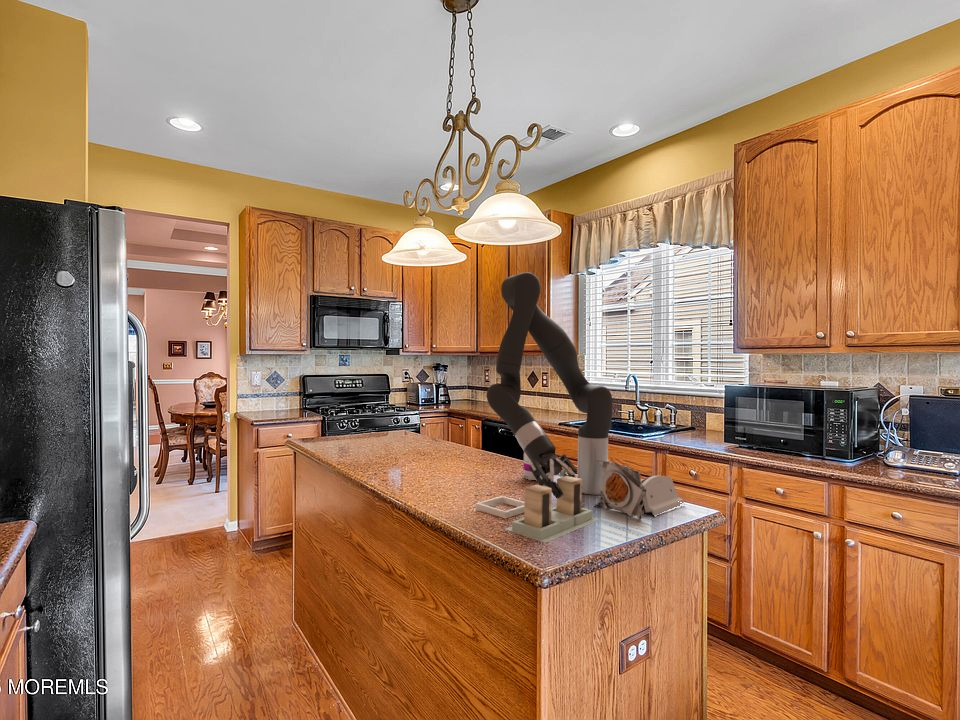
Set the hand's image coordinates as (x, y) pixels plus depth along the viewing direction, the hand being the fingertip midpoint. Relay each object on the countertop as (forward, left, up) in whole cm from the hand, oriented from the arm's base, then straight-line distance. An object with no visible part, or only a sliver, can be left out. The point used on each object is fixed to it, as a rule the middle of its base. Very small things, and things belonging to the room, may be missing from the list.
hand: (570, 493), depth 128 cm
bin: (+10, -15, -7) cm, 19 cm away
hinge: (-30, +5, -8) cm, 31 cm away
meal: (-16, +2, -8) cm, 18 cm away
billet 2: (0, 0, -6) cm, 6 cm away
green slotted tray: (+7, +1, -7) cm, 10 cm away
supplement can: (-23, -39, -8) cm, 46 cm away
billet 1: (+13, +2, -6) cm, 15 cm away
